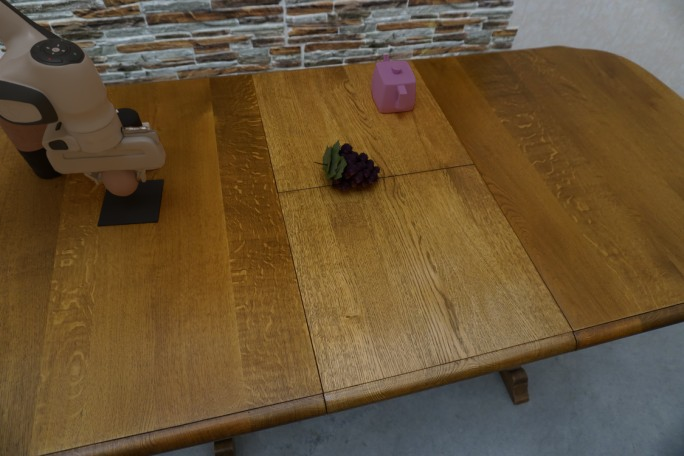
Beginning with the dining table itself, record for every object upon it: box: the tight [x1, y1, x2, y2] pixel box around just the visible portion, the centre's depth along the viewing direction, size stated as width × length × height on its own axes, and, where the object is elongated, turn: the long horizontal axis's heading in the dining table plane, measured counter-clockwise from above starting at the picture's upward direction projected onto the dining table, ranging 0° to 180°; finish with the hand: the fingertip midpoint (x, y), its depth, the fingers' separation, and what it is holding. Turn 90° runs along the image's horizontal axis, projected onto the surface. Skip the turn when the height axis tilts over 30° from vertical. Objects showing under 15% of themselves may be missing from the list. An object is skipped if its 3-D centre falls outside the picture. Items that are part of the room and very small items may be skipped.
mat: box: [96, 178, 165, 228], centre depth 99 cm, size 12×12×1 cm
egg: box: [100, 170, 138, 196], centre depth 93 cm, size 7×7×9 cm
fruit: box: [313, 139, 381, 192], centre depth 102 cm, size 10×11×15 cm
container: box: [115, 107, 157, 172], centre depth 102 cm, size 8×8×13 cm
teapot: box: [370, 54, 417, 114], centre depth 120 cm, size 18×10×10 cm, turn 11°
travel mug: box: [0, 118, 63, 180], centre depth 96 cm, size 8×8×20 cm
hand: (121, 181), depth 94 cm, fingers closed on egg, 6 cm apart
